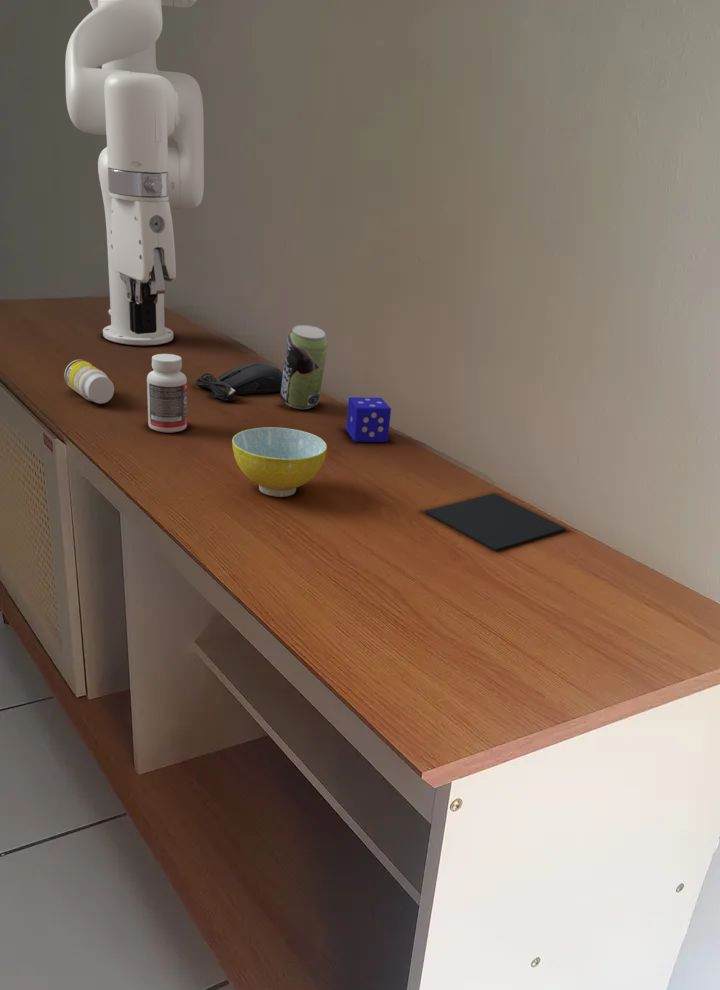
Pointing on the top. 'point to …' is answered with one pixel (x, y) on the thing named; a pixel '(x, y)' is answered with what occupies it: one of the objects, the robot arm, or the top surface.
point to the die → (368, 419)
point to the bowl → (278, 458)
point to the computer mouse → (243, 381)
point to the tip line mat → (495, 521)
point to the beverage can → (303, 367)
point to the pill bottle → (167, 394)
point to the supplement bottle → (89, 381)
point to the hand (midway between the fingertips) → (143, 331)
